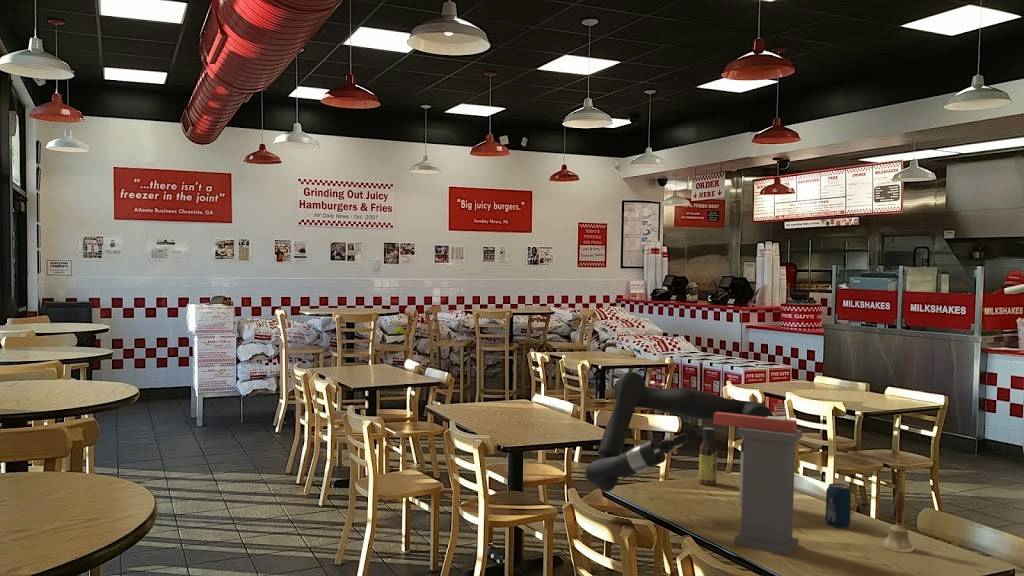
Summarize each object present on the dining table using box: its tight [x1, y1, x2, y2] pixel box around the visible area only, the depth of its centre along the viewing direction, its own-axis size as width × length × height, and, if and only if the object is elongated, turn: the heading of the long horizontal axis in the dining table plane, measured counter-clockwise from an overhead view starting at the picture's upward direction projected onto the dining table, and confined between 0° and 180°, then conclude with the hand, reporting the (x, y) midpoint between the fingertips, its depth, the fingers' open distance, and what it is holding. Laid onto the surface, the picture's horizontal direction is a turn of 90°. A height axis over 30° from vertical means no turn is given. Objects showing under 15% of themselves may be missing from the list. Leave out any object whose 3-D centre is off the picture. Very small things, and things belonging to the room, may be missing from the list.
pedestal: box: [733, 427, 803, 556], centre depth 224 cm, size 15×10×32 cm, turn 59°
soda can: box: [824, 483, 852, 529], centre depth 244 cm, size 7×7×12 cm
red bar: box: [712, 412, 798, 433], centre depth 226 cm, size 22×4×3 cm, turn 59°
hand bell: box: [881, 489, 913, 550], centre depth 225 cm, size 8×8×16 cm
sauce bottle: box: [698, 427, 718, 486], centre depth 291 cm, size 6×6×20 cm
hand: (692, 434), depth 235 cm, fingers open, 8 cm apart
